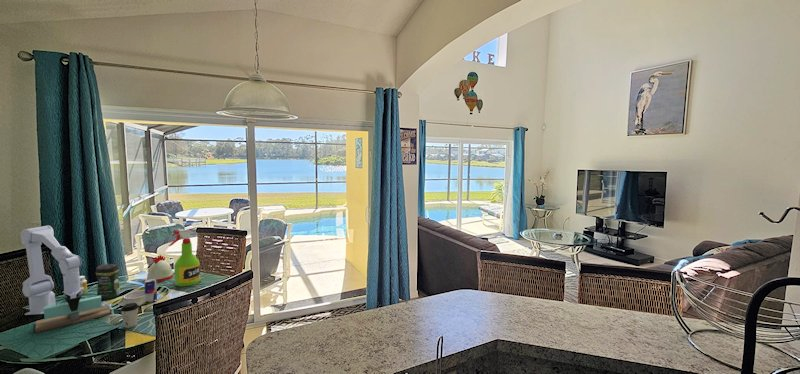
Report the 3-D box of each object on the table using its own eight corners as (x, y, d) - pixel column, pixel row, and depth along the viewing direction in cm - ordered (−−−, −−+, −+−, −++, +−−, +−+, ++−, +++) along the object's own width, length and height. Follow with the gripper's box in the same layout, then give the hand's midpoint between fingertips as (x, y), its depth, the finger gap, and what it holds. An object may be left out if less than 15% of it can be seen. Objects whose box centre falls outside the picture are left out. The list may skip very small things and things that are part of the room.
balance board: (36, 323, 161) (35, 316, 160) (107, 306, 179) (107, 300, 179) (35, 332, 152) (34, 325, 152) (110, 314, 171) (110, 307, 171)
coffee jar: (94, 299, 186) (92, 267, 185) (104, 293, 194) (102, 262, 192) (114, 299, 188) (112, 266, 186) (123, 293, 196) (121, 262, 194)
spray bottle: (162, 287, 205) (160, 230, 202) (189, 277, 223) (187, 224, 219) (179, 290, 202) (177, 232, 198) (205, 279, 219) (203, 226, 215)
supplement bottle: (75, 295, 191) (74, 279, 190) (74, 293, 194) (72, 277, 193) (88, 293, 195) (87, 277, 194) (86, 290, 198) (85, 274, 197)
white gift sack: (141, 280, 215) (140, 258, 213) (160, 273, 228) (159, 251, 227) (160, 282, 212) (159, 259, 211) (178, 275, 226) (177, 253, 224)
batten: (44, 319, 157) (43, 309, 157) (45, 316, 160) (44, 306, 159) (101, 306, 171) (101, 297, 170) (101, 304, 173) (100, 295, 173)
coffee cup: (124, 330, 156) (123, 309, 155) (118, 326, 160) (117, 305, 159) (142, 324, 162) (141, 304, 161) (136, 320, 166) (135, 300, 165)
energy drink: (150, 303, 183) (149, 282, 182) (142, 302, 184) (141, 281, 183) (159, 299, 188) (158, 278, 187) (151, 298, 190) (150, 278, 188)
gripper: (84, 283, 162) (86, 310, 163) (82, 275, 172) (83, 300, 173) (63, 287, 157) (65, 315, 158) (62, 278, 167) (64, 305, 168)
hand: (73, 308), depth 165 cm, fingers open, 7 cm apart
